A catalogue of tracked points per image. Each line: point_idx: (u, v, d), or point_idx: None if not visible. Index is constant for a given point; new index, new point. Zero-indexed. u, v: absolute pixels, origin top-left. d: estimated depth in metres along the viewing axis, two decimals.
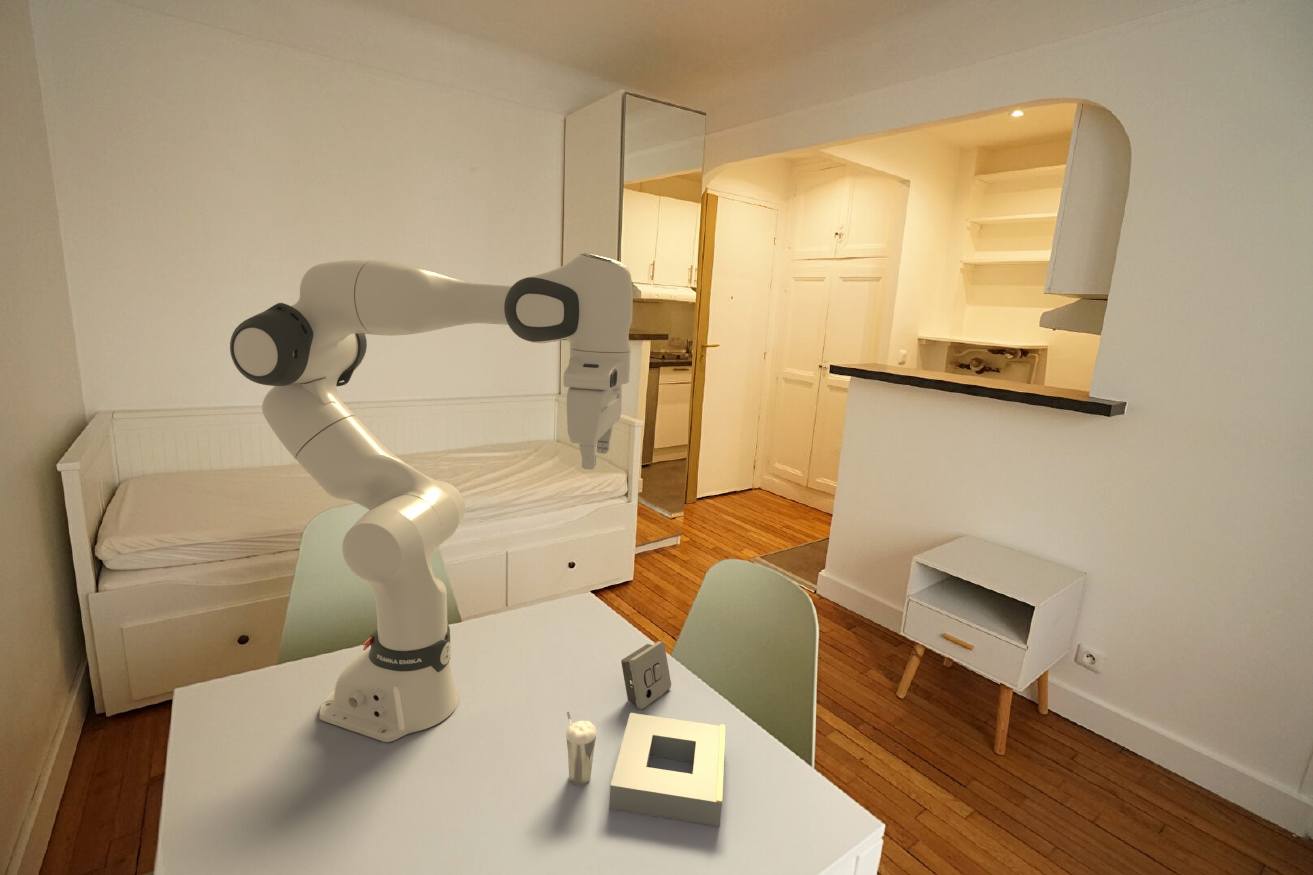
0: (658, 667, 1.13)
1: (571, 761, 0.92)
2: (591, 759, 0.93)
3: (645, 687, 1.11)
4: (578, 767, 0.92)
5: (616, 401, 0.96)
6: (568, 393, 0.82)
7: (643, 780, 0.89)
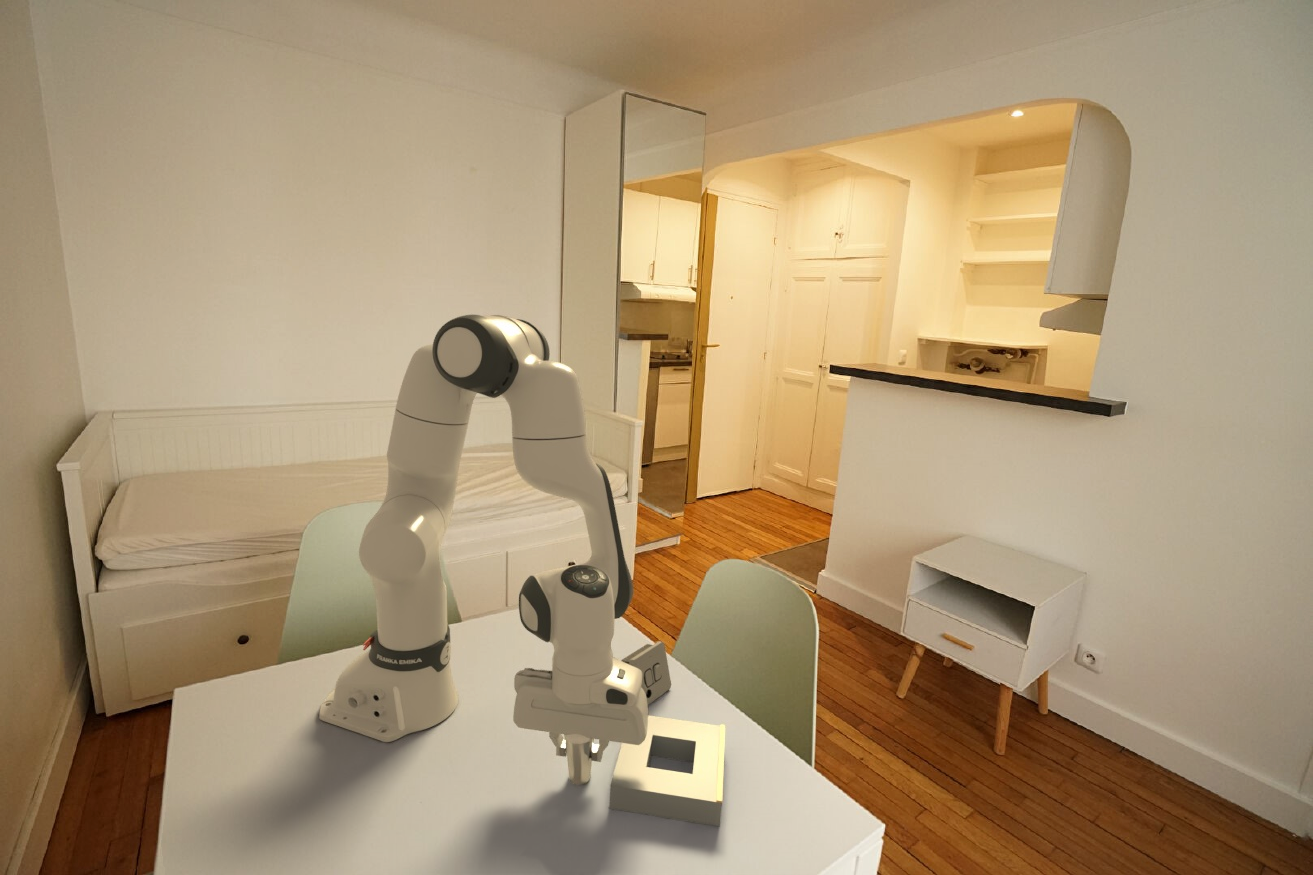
0: (658, 667, 1.13)
1: (570, 761, 0.92)
2: (590, 758, 0.93)
3: (645, 687, 1.11)
4: (577, 767, 0.92)
5: None
6: (637, 707, 0.88)
7: (643, 780, 0.89)
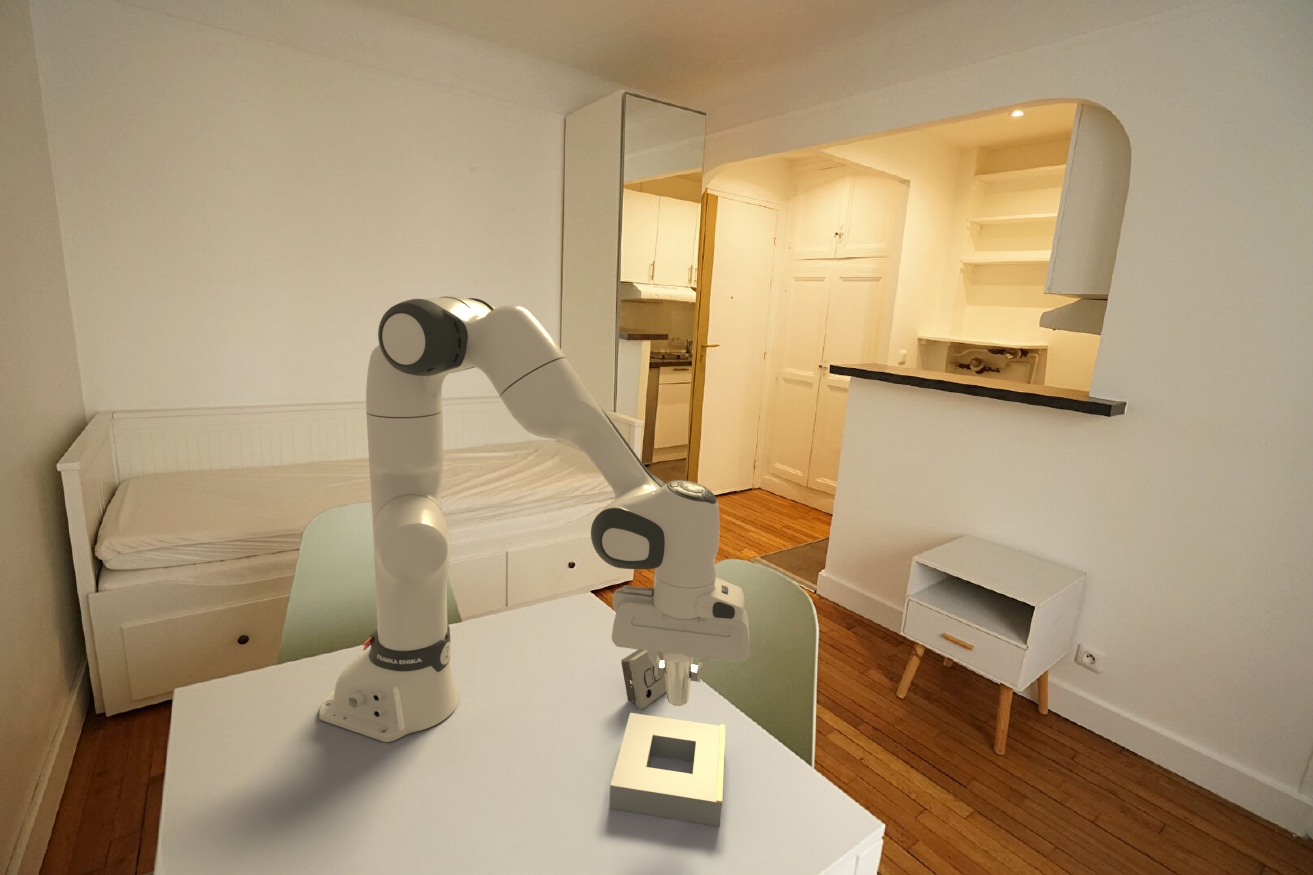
0: None
1: (669, 682, 0.90)
2: (689, 679, 0.91)
3: (645, 687, 1.11)
4: (677, 687, 0.90)
5: None
6: (743, 622, 0.86)
7: (643, 780, 0.89)
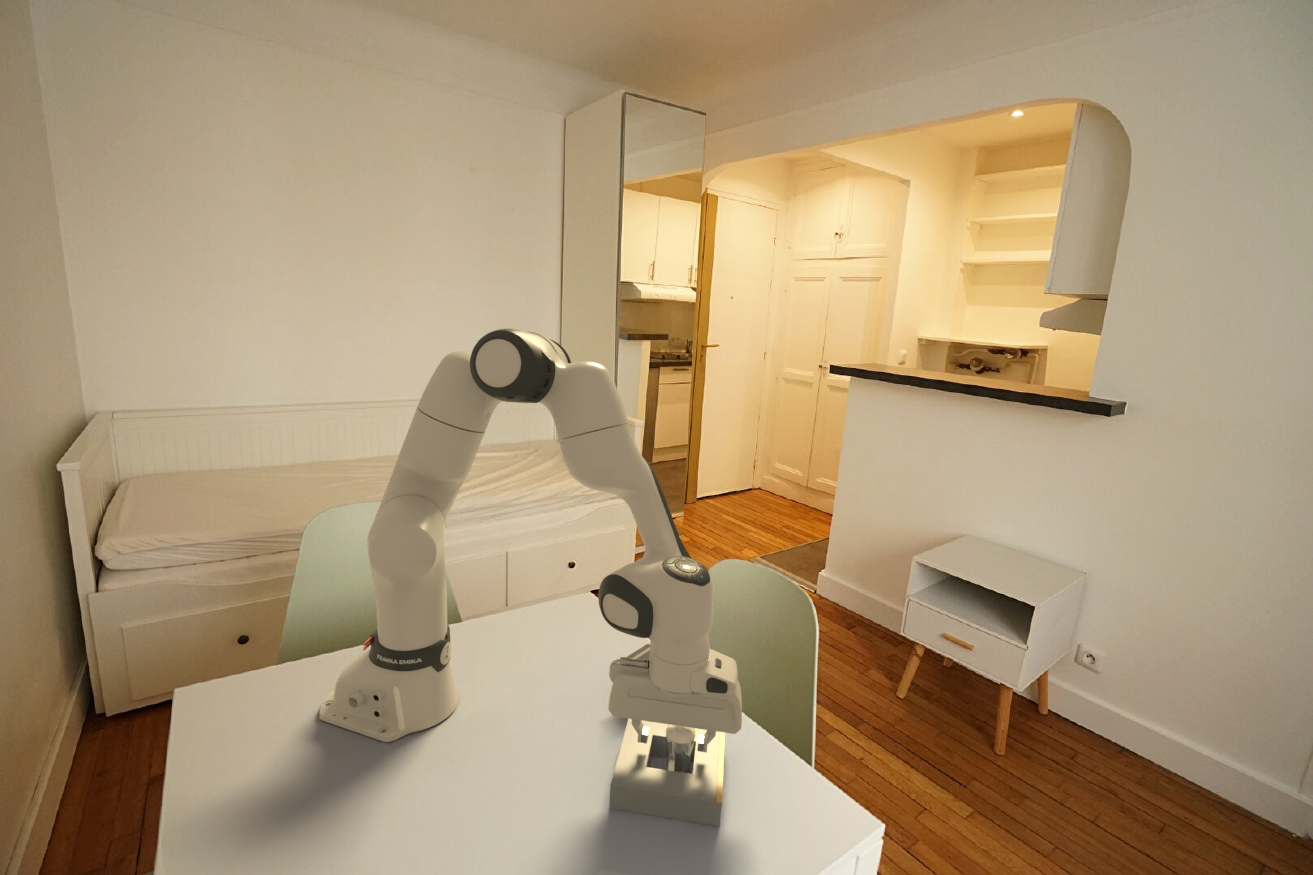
0: None
1: (670, 760, 0.93)
2: (690, 758, 0.94)
3: None
4: (678, 766, 0.93)
5: None
6: (736, 696, 0.89)
7: (643, 780, 0.89)
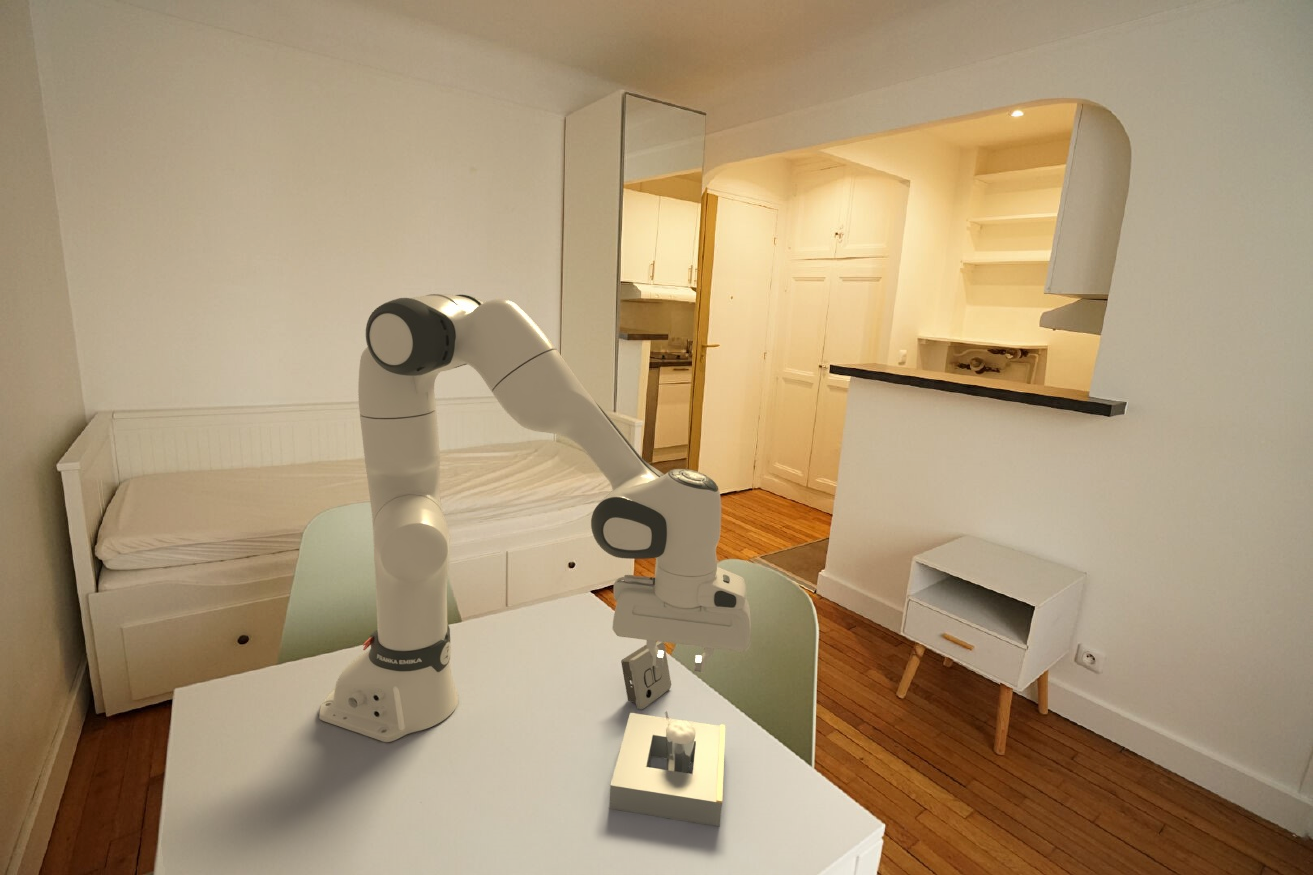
0: (658, 667, 1.13)
1: (671, 760, 0.93)
2: (690, 758, 0.94)
3: (645, 687, 1.11)
4: (678, 766, 0.93)
5: None
6: (745, 612, 0.85)
7: (643, 780, 0.89)
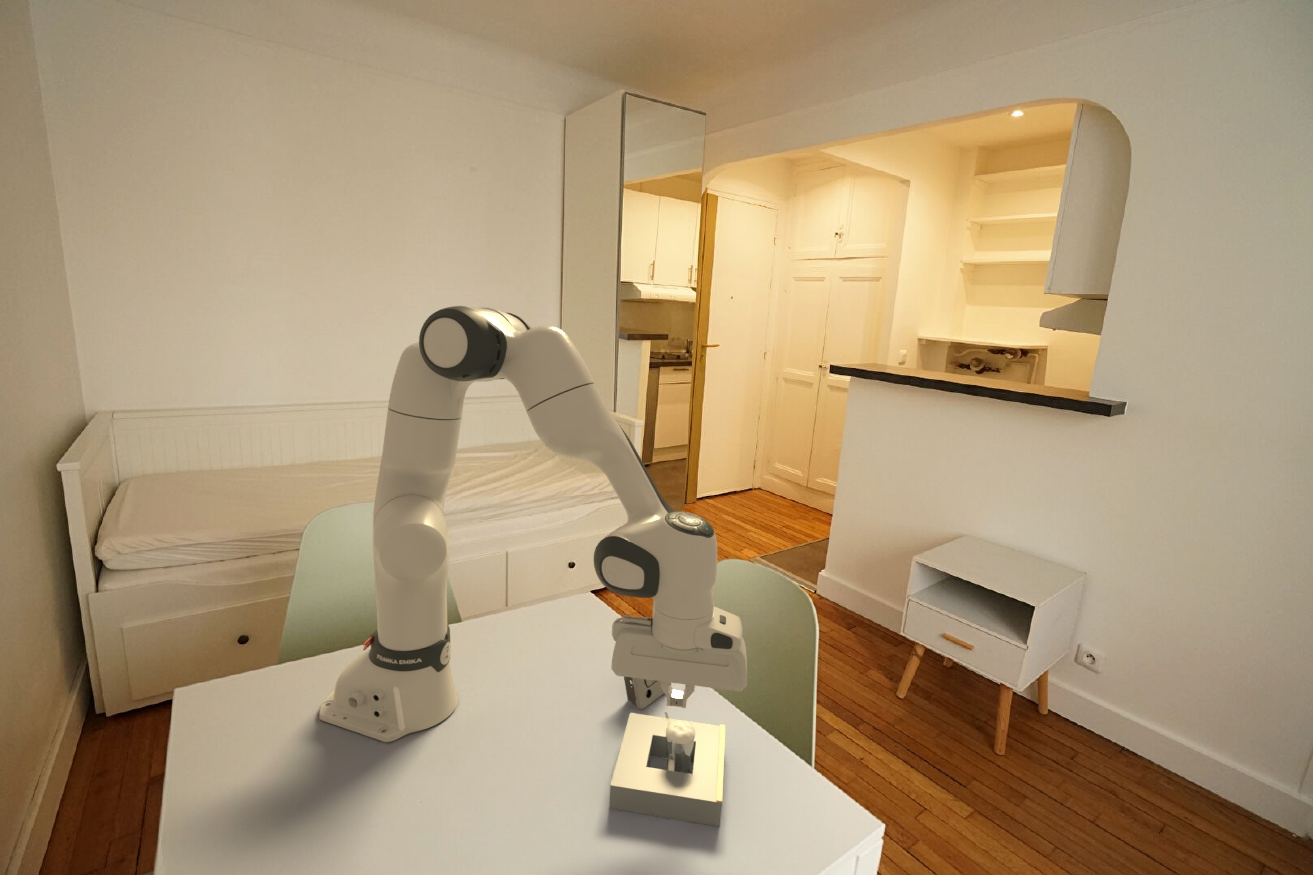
0: None
1: (670, 760, 0.93)
2: (690, 758, 0.94)
3: (645, 687, 1.11)
4: (678, 766, 0.93)
5: None
6: (741, 652, 0.87)
7: (643, 780, 0.89)
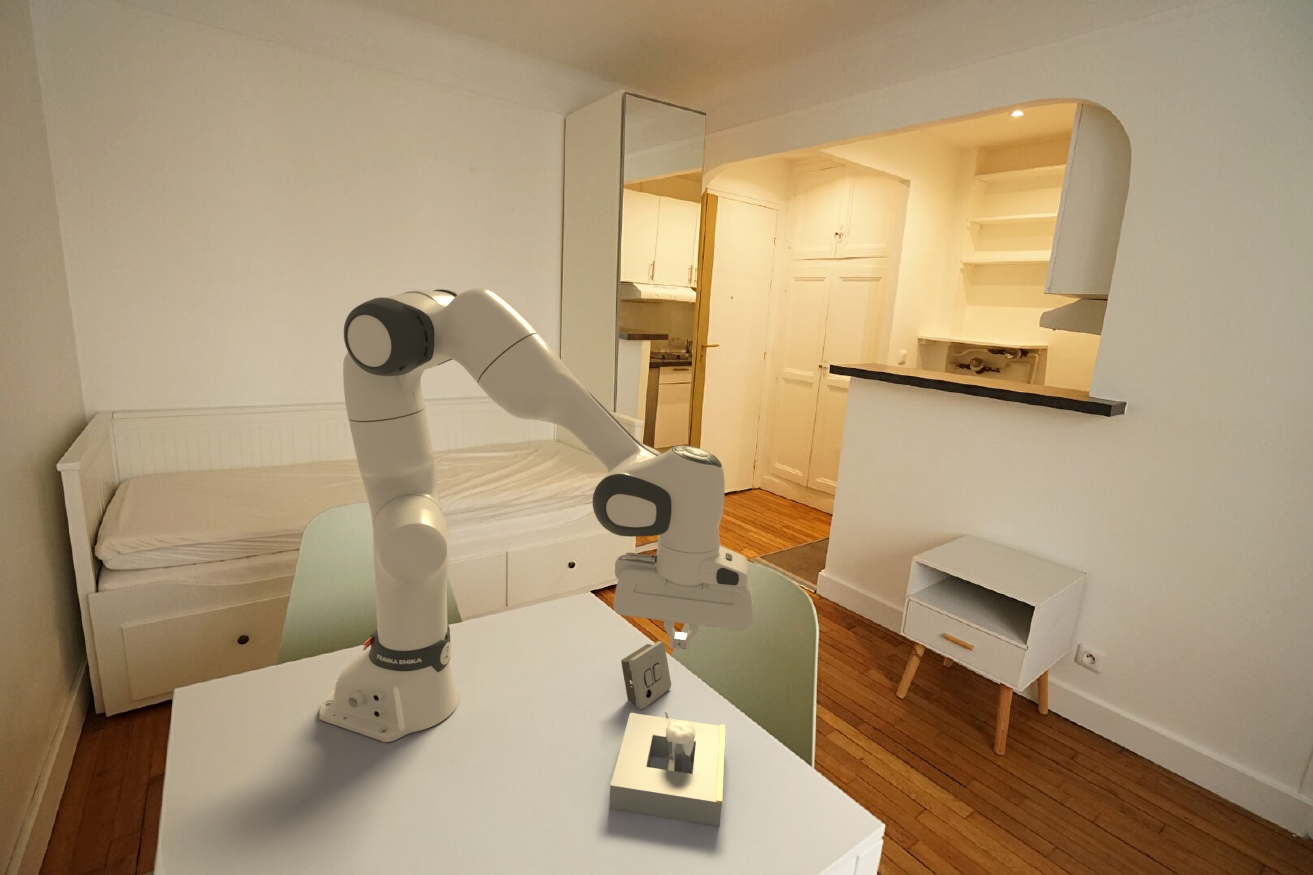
0: (658, 667, 1.13)
1: (670, 760, 0.93)
2: (690, 758, 0.94)
3: (645, 687, 1.11)
4: (678, 766, 0.93)
5: None
6: (747, 590, 0.85)
7: (643, 780, 0.89)
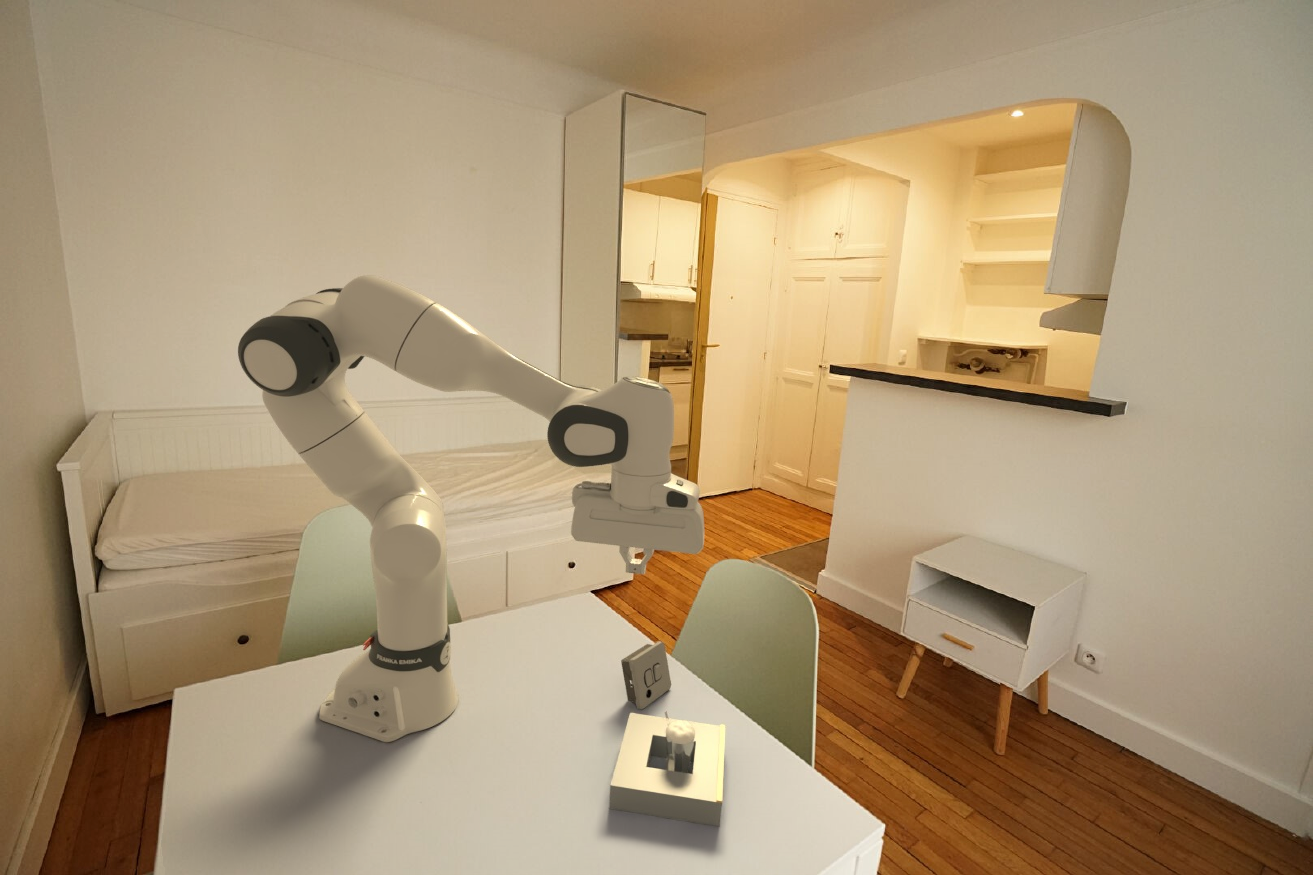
0: (658, 667, 1.13)
1: (670, 760, 0.93)
2: (690, 758, 0.94)
3: (645, 687, 1.11)
4: (678, 766, 0.93)
5: None
6: (697, 513, 0.89)
7: (643, 780, 0.89)
